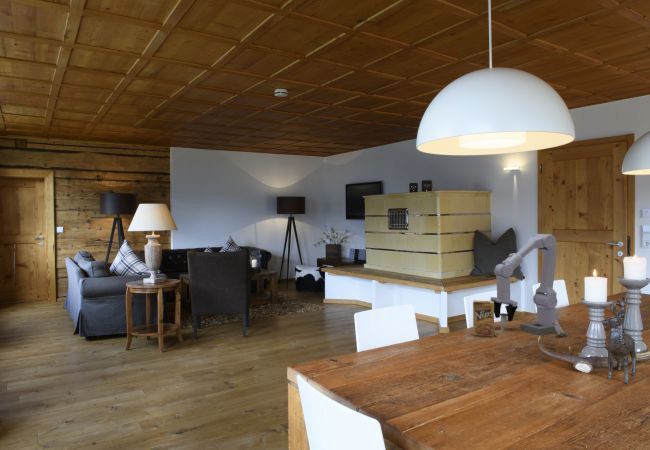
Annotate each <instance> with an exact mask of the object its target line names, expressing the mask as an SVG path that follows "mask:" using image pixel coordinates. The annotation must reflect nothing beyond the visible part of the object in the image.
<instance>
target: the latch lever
mask: <svg viewBox="0 0 650 450" xmlns="http://www.w3.org/2000/svg"><path fill="white" fill-rule="evenodd" d="M552 324H553V326H554V327H555V329H556V332H558V334H559V335H558V336H560V337H564V334H565V331H564V330H563V328H562V326H561V325H560V322H559V323H558V320H556V319H555V320H554V321H552ZM564 338H565V337H564Z"/></svg>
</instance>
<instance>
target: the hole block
mask: <svg viewBox="0 0 650 450" xmlns="http://www.w3.org/2000/svg"><path fill="white" fill-rule="evenodd" d="M520 331H522V332H525V333H529V334H532V335H536V336H544V335H549V334H556V332H557V331H556V329H555V327H554V325H549V324H545V323H541V322H537V321H532V322H527V323H521V324H520Z"/></svg>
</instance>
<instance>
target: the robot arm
mask: <svg viewBox="0 0 650 450" xmlns="http://www.w3.org/2000/svg"><path fill="white" fill-rule="evenodd" d="M535 249H538V250H539V251H541V253H542V254H543V259H542V265H541V266H542V267H541V276H540V282H539V283H540V285H539V287H537V288H536V289H535V293H534V295H533V298H532V300H533V303H534V304H535V307H536V322H541V323H545V324H549V325H553V324H552V321H554V320H555V319H556V320H558V323H559V324H560V315H559V310H558V309H557V308H556V306H557V305H558V298H557V292H556V291H555V289H554V288H553V287H554V280H555V272H556V262H557V255H558V249H557V239H556V237H555V236H554V235H553V234H551V233H549V234H548V233H534V234H532V235H531V236H530V237H529V238H528V241H527V242H526V243H525V244H524V245H523V246H522V247H521V248H520V249H519V250H518V251H517V252H514V253H509V254H508V257H507V258H505V260H503V261H501V263H499V264H496V265H495V267H494V270H493V274H494V275H495V279H496V297H495V296H491V297H490V301H494V319H495V318H496V319H499V318H500V319H501V315H500V314H501V309H502V305H505V310H506V314H507V322H513V320H514V316H515V313H516V311H517V310H518V308H519V307H518V301H514V300H513V299H511V277H512V276H513V274H514V270H515V269H516V268H517V267H518V266H520V265H521V264H522V263H523V258H525V257H527V255H529V253H531V252H532V251H534V250H535ZM553 326H554V325H553Z"/></svg>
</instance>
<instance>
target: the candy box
mask: <svg viewBox="0 0 650 450" xmlns="http://www.w3.org/2000/svg"><path fill="white" fill-rule="evenodd" d="M472 324H473V325H472V326H473V330H472V331H473V332H472V333H473V335H472V336H477V337H488V338H495V314H494V301H491V300H475V299H474V300H473V301H472Z"/></svg>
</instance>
